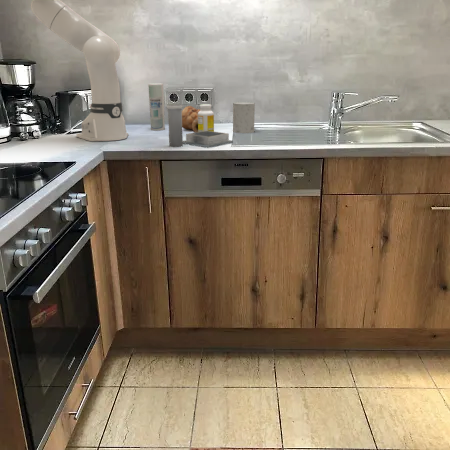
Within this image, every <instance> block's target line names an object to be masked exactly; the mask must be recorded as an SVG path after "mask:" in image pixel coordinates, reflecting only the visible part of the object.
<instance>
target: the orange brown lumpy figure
mask: <svg viewBox="0 0 450 450" xmlns="http://www.w3.org/2000/svg"><path fill="white" fill-rule="evenodd" d="M199 111H200V109H199V108H198V109H197V108H195V107H193V106H192V105H188V106H185V107H184V108H182V129H184V130H186V129H187V130H192V131H193V133H195V132H198V112H199Z"/></svg>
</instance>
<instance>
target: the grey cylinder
mask: <svg viewBox="0 0 450 450" xmlns="http://www.w3.org/2000/svg"><path fill="white" fill-rule="evenodd" d="M255 104H256V103H255V102H252V101H251V102H249V101H238V102H237V101H236V102H235V101H234V102H232V112H233V113H232V132H233V133H235V134H236V133H237V134H251V133H252V134H253V133H254V132H255V114H256V113H255V111H256V110H255V109H256V107H255V106H256V105H255Z"/></svg>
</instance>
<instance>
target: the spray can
mask: <svg viewBox="0 0 450 450" xmlns="http://www.w3.org/2000/svg"><path fill="white" fill-rule="evenodd" d="M147 86H148V102H149V103H148V104H149V119H150V130H151V131H155V132H156V131H157V132H159V131H164V130H165V129H166V127H165V126H166V125H165V99H164V98H165V96H164V83H148V84H147Z"/></svg>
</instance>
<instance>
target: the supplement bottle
mask: <svg viewBox="0 0 450 450" xmlns="http://www.w3.org/2000/svg"><path fill="white" fill-rule="evenodd" d="M199 108H200V111H199V112H198V132H201V131H214V132H215V120H214V117H215V112H214V111H212V104H210V103H209V104H208V103H207V104H204V103H203V104H199Z"/></svg>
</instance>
